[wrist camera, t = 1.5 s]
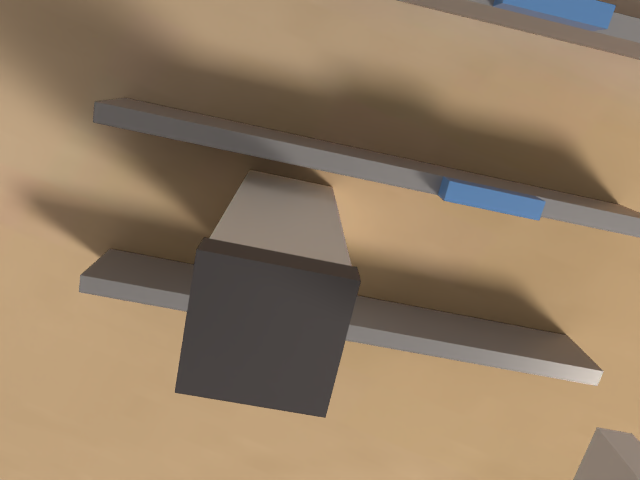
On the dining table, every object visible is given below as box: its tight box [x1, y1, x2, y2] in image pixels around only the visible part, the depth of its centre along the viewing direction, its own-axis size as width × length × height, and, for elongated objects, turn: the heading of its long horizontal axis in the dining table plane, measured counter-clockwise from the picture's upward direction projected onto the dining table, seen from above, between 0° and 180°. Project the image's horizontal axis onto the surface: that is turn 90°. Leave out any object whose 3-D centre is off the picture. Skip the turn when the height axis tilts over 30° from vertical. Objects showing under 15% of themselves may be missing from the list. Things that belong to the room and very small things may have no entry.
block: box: [175, 170, 361, 418], centre depth 19 cm, size 4×4×12 cm
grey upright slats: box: [79, 0, 640, 386], centre depth 22 cm, size 24×15×4 cm, turn 78°
